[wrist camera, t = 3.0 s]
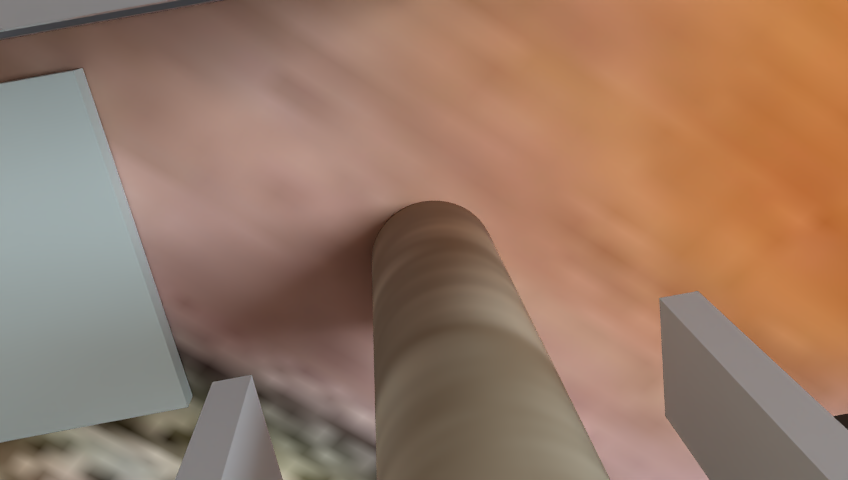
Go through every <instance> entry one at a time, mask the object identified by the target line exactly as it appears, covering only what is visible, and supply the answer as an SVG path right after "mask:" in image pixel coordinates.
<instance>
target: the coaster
mask: <svg viewBox="0 0 848 480" xmlns="http://www.w3.org/2000/svg"><path fill="white" fill-rule="evenodd" d="M192 397H193V395H192V392H191V389H190V386H189V383H188V380H187V378H186V375H185V372H184V369H183V366H182V363H181V360H180V357H179V354H178V351H177V348H176V345H175V342H174V339H173V336H172V333H171V330H170V327H169V324H168V321H167V318H166V315H165V312H164V309H163V306H162V303H161V300H160V297H159V294H158V291H157V288H156V285H155V282H154V279H153V276H152V273H151V270H150V267H149V264H148V261H147V258H146V255H145V252H144V249H143V246H142V243H141V240H140V237H139V234H138V231H137V228H136V226H135V223H134V220H133V217H132V214H131V211H130V208H129V205H128V202H127V199H126V196H125V193H124V190H123V187H122V184H121V181H120V178H119V175H118V172H117V169H116V166H115V163H114V160H113V157H112V154H111V151H110V148H109V145H108V142H107V139H106V136H105V133H104V130H103V127H102V124H101V121H100V118H99V115H98V112H97V109H96V106H95V103H94V100H93V97H92V94H91V91H90V88H89V85H88V82H87V79H86V76H85V74H84V71H83V68H80V69H74V70H68V71H63V72H57V73H52V74H46V75H41V76H35V77H29V78H24V79H18V80H13V81H7V82H2V83H0V442H5V441H11V440H16V439H21V438H27V437H32V436H37V435H43V434H48V433H53V432H59V431H64V430H69V429H75V428H80V427H85V426H91V425H96V424H101V423H106V422H112V421H117V420H122V419H128V418H133V417H138V416H144V415H149V414H154V413H160V412H165V411H170V410H176V409H181V408H186V407H188V406H189V404H190V401H191V399H192Z"/></svg>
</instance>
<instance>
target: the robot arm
mask: <svg viewBox="0 0 848 480" xmlns="http://www.w3.org/2000/svg"><path fill="white" fill-rule="evenodd" d="M659 299H660V319H661V339H662V359H663V379H664V399H665V416H666V418H667V419H668V420H669V422H670V423H671V425H672V426H673V428H674V429H675V430H676V432H677V433H678V435H679V436H680V438H681V439H682V441H683V442H684V443H685V445H686V446H687V448H688V449H689V451H690V452H691V454H692V455H693V456H694V458H695V459H696V461H697V462H698V464H699V465H700V467H701V468H702V469H703V471H704V472H705V474H706V475H707V477H708V478H709V479H710V480H848V414H843V415H838V416H832V415H831V414H830V413H829V412H828V411H827V410H826V409H825V408H824V407H822V406H821V405H820V404H819V403H818V402H817V401H816V400H815V399H814V398H813V397H812V396H811V395H809V394H808V393H807V392H806V391H805V390H804V389H803V388H802V387H801V386H800V385H799V384H798V383H797V382H795V381H794V380H793V379H792V378H791V377H790V376H789V375H788V374H787V373H786V372H785V371H784V370H782V369H781V368H780V367H779V366H778V365H777V364H776V363H775V362H774V361H773V360H772V359H771V358H770V357H768V356H767V355H766V354H765V353H764V352H763V351H762V350H761V349H760V348H759V347H758V346H757V345H755V344H754V343H753V342H752V341H751V340H750V339H749V338H748V337H747V336H746V335H745V334H744V333H743V332H741V331H740V330H739V329H738V328H737V327H736V326H735V325H734V324H733V323H732V322H731V321H730V320H728V319H727V318H726V317H725V316H724V315H723V314H722V313H721V312H720V311H719V310H718V309H717V308H716V307H714V306H713V305H712V304H711V303H710V302H709V301H708V300H707V299H706V298H705V297H704V296H703V295H701V294H700V293H699V292H698V291H696V292H690V293H685V294H680V295H674V296H669V297H664V298H659ZM175 480H283V479H282V476H281V472H280V469H279V466H278V462H277V459H276V455H275V452H274V449H273V445H272V442H271V439H270V435H269V432H268V428H267V425H266V422H265V418H264V415H263V412H262V408H261V405H260V401H259V398H258V395H257V391H256V388H255V384H254V381H253V378H252V375H248V376H242V377H237V378H232V379H226V380H221V381H216V382H212V385H211V387H210V390H209V392H208V395H207V398H206V400H205V403H204V405H203V408H202V411H201V413H200V416H199V419H198V421H197V424H196V426H195V429H194V432H193V434H192V437H191V440H190V442H189V445H188V447H187V450H186V453H185V455H184V458H183V460H182V463H181V466H180V468H179V471H178V474H177V476H176V479H175Z"/></svg>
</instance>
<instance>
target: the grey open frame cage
mask: <svg viewBox="0 0 848 480" xmlns="http://www.w3.org/2000/svg"><path fill="white" fill-rule="evenodd" d="M217 1H222V0H0V40H4V39H9V38H15V37H21V36H26V35H32V34H37V33H43V32H49V31H54V30H60V29H65V28H71V27H77V26H82V25H88V24H93V23H99V22H105V21H110V20H116V19H122V18H127V17H133V16H138V15H144V14H150V13H155V12H161V11H166V10H172V9H178V8H183V7H189V6H194V5H200V4H206V3H211V2H217Z"/></svg>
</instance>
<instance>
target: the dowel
mask: <svg viewBox="0 0 848 480" xmlns="http://www.w3.org/2000/svg"><path fill="white" fill-rule="evenodd" d="M372 296H373V337H374V378H375V419H376V460H377V480H610V478H609V476H608V474H607V472H606V470H605V468H604V466H603V464H602V462H601V460H600V458H599V456H598V454H597V452H596V450H595V448H594V446H593V444H592V442H591V440H590V438H589V436H588V434H587V432H586V430H585V428H584V426H583V424H582V422H581V420H580V418H579V416H578V414H577V412H576V410H575V408H574V406H573V404H572V401H571V399H570V397H569V395H568V393H567V391H566V389H565V387H564V385H563V383H562V381H561V379H560V377H559V375H558V373H557V371H556V369H555V367H554V365H553V363H552V361H551V359H550V357H549V355H548V353H547V351H546V349H545V347H544V345H543V343H542V341H541V339H540V337H539V335H538V333H537V331H536V329H535V326H534V324H533V322H532V320H531V318H530V316H529V314H528V312H527V310H526V308H525V306H524V304H523V302H522V300H521V298H520V296H519V294H518V292H517V290H516V288H515V286H514V284H513V282H512V280H511V278H510V276H509V274H508V272H507V270H506V268H505V266H504V264H503V262H502V260H501V258H500V256H499V254H498V252H497V249H496V247H495V245H494V243H493V241H492V239H491V237H490V235H489V233H488V231H487V230H486V228H485V226H484V225H483V224H482V222H481V221H480V220H479V219H478V218H477V217H476V216H475V215H474V214H472V213H471V212H470V211H468V210H466V209H465V208H463V207H461V206H458V205H456V204H453V203H449V202H443V201H426V202H421V203H417V204H413V205H411V206H408V207H406V208H404V209H402V210H400V211H399V212H398V213H396V214H395V215H393V216H392V217H391V218H390V219H389V220H388V221H387V222H386V223H385V225H384V226H383V227H382V229H381V230H380V232H379V233H378V235H377V238H376V240H375V243H374V246H373V251H372Z"/></svg>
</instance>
